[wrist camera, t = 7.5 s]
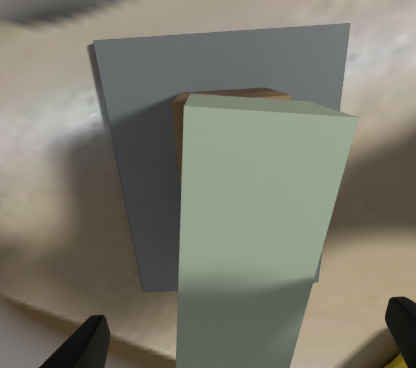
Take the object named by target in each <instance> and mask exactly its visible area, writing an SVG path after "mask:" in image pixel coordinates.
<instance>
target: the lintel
mask: <svg viewBox="0 0 416 368" xmlns="http://www.w3.org/2000/svg"><path fill="white" fill-rule="evenodd" d="M357 122H358V117H355V116H352V115H349V114H346V113H343V112H340V111H337V110H334V109H331V108H328V107H324V106H321V105H318V104H315V103H312V102H308V101H293V100H279V99H264V98H249V97H235V96H220V95H205V94H191V93H190V95H189V97H188V99H187V101H186V103H185V105H184V121H183V153H182V186H181V218H180V250H179V282H178V315H177V347H176V368H289V367H290V364H291V360H292V357H293V353H294V349H295V346H296V342H297V339H298V335H299V331H300V328H301V324H302V321H303V317H304V313H305V310H306V306H307V303H308V299H309V295H310V292H311V288H312V284H313V281H314V277H315V274H316V270H317V266H318V263H319V259H320V256H321V252H322V248H323V245H324V241H325V238H326V234H327V230H328V227H329V223H330V220H331V216H332V212H333V209H334V205H335V201H336V198H337V194H338V191H339V187H340V183H341V180H342V176H343V173H344V169H345V165H346V162H347V158H348V155H349V151H350V147H351V144H352V140H353V137H354V133H355V129H356V126H357Z"/></svg>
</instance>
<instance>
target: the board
mask: <svg viewBox="0 0 416 368" xmlns="http://www.w3.org/2000/svg"><path fill="white" fill-rule="evenodd" d="M349 31H350V23H345V24H331V25H316V26H301V27H286V28H271V29H256V30H242V31H227V32H212V33H197V34H182V35H167V36H153V37H138V38H123V39H108V40H93V43H94V48H95V53H96V58H97V63H98V68H99V73H100V78H101V83H102V88H103V93H104V98H105V103H106V108H107V113H108V118H109V123H110V128H111V133H112V138H113V143H114V148H115V153H116V158H117V163H118V168H119V173H120V178H121V183H122V188H123V193H124V198H125V203H126V208H127V213H128V218H129V223H130V228H131V233H132V238H133V243H134V248H135V253H136V258H137V263H138V268H139V273H140V278H141V283H142V288H143V292H158V291H175V290H178V282H179V250H180V218H181V187H180V178H179V169H178V160H177V151H176V141H175V132H174V123H173V114H172V105H171V103H172V102H173V101H174V99H175V98H176V97H177V96H178V95H179V94H180V93H186V92H201V91H216V90H232V89H247V88H262V87H267V88H270V89H273V90H276V91H279V92H282V93H285V94H289V95H291V100H293V101H308V102H312V103H315V104H318V105H321V106H324V107H328V108H331V109H334V110H337V111H340V103H341V95H342V87H343V79H344V71H345V63H346V55H347V47H348V39H349ZM321 256H322V252H321ZM321 256H320V259H319V263H318V266H317V270H316V274H315V277H314V281H313V283H315V282H318V280H319V272H320V264H321Z"/></svg>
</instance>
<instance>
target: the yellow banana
mask: <svg viewBox="0 0 416 368" xmlns="http://www.w3.org/2000/svg"><path fill="white" fill-rule="evenodd" d="M384 368H408V367H407V365H406V363H405V361H404V359H403V357H402V355H401V353H399V355H398V356H397V357H396V358H395V359H394V360H393V361H392V362H391V363H390V364H388V365H387V366H385V367H384Z"/></svg>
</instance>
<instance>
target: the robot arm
mask: <svg viewBox="0 0 416 368" xmlns="http://www.w3.org/2000/svg"><path fill="white" fill-rule="evenodd" d="M385 321H386V324H387V326H388V328H389V330H390V332H391V334H392V336H393V338H394V341H395V343H396V345H397V347H398V349H399V351H400V353H401V355H402V357H403V359H404V361H405V363H406V365H407V367H408V368H416V303H415V302H413V301H412V300H410V299H408V298H406V297H392V298H390V299H389V302H388V306H387V310H386V314H385ZM109 343H110V331H109V327H108V324H107V320H106V317H105V316H104V315H93V316H90V317H89V318H88V319H87V320H86V321H85V322H84V323H83V324H82V325H81V326H80V327H79V328H78V329H77V330H76V331H75V332H74V333H73V334H72V335H71V336H70V337H69V338H68V339H67V340H66V341H65V342H64V343H63V344H62V345H61V346H60V347H59V348H58V349H57V350H56V351H55V352H54V353H53V354H52V355H51V356H50V357H49V358H48V359H47V360H46V361H45V362H44V363H43V364H42V365H41V366H40V367H39V368H104V367H105V362H106V357H107V352H108V348H109Z"/></svg>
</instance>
